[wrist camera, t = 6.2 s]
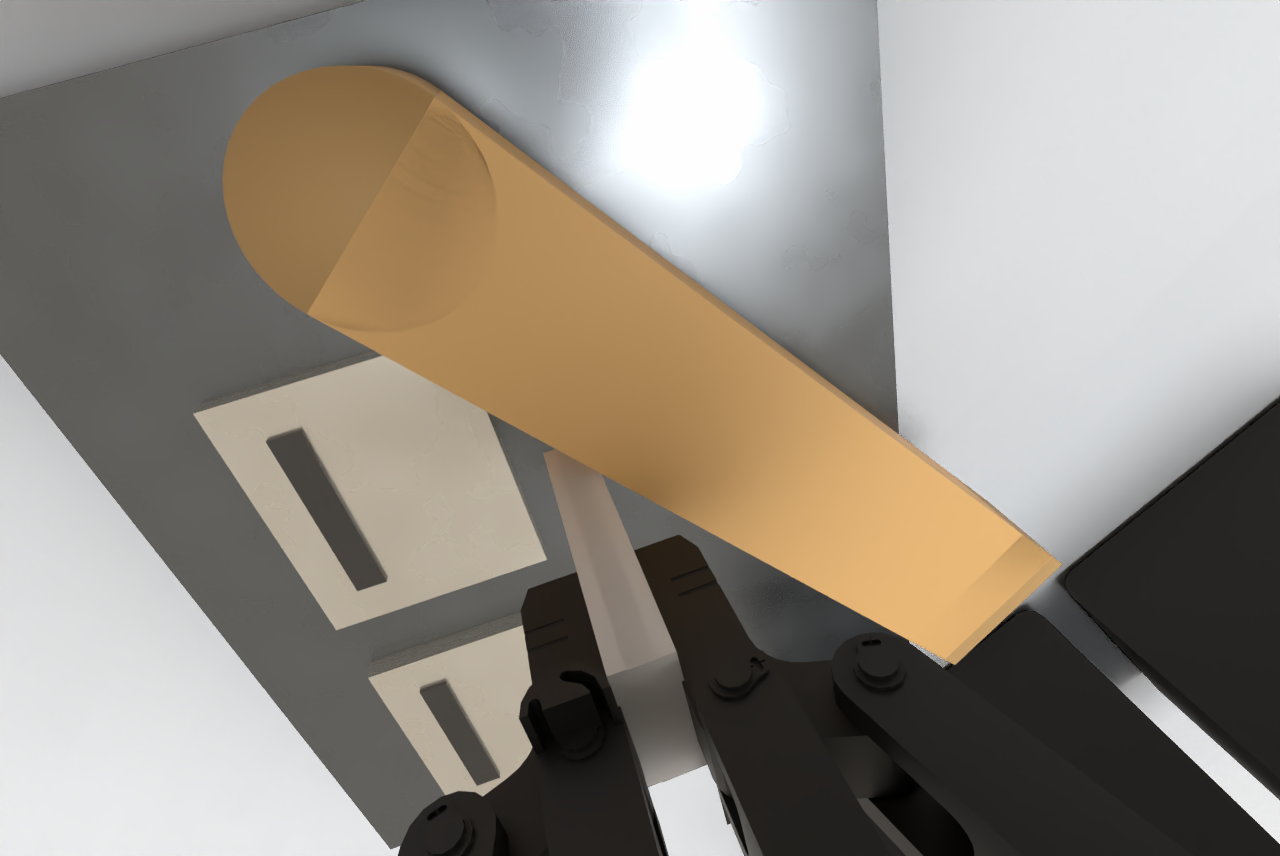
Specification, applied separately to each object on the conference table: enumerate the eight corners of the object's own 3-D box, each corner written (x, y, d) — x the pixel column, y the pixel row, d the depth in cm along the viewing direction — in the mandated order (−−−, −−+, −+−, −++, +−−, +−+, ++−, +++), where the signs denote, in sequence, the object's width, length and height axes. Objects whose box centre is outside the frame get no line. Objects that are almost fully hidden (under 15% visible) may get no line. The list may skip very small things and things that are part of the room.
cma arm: (238, 205, 13) (176, 243, 10) (339, 13, 12) (301, -2, 9) (894, 589, 22) (954, 665, 19) (984, 498, 21) (1062, 564, 18)
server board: (-88, 133, 14) (-201, 146, 12) (825, -113, 15) (888, -144, 13) (395, 796, 26) (388, 869, 24) (882, 624, 27) (921, 677, 25)
